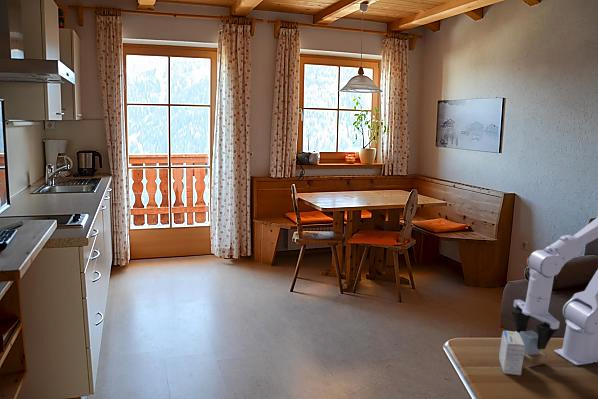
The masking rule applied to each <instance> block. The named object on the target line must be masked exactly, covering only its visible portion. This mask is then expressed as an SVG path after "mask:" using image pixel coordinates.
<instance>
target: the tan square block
mask: <svg viewBox="0 0 598 399" xmlns="http://www.w3.org/2000/svg"><path fill="white" fill-rule="evenodd" d="M546 355H547V354H546V353H544V352H542V351H540V354H535V355H526V354H525V353H524V357H523V364H522V365H524V366H526V367H527V368H530V367H531V368H532V367H536V366H541V365H544V364H545V363H546V362H545V361H546Z"/></svg>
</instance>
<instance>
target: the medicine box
mask: <svg viewBox="0 0 598 399" xmlns="http://www.w3.org/2000/svg"><path fill="white" fill-rule="evenodd" d="M524 351H525V345H524V342H523V340H522V338H521V336H520V333H519V332H515V331H511V330H502V333H501V340H500V347H499V352H498V353H499V354H498V359H499V360H498V361H499V363H500V367H501V369H502V372H503V374H506V375H515V376H522V370H523V365H524V364H523V357H524Z"/></svg>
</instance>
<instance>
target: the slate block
mask: <svg viewBox="0 0 598 399" xmlns="http://www.w3.org/2000/svg"><path fill="white" fill-rule="evenodd" d="M520 336H521V338H522V340H523V342H524V345H525V351H524V353H525V354H526V355H535V354H540V352H541V349H540V350H539V349H538V348H537V342H538V332H536V331H534V330H526V331H521V332H520Z"/></svg>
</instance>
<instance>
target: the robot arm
mask: <svg viewBox="0 0 598 399" xmlns="http://www.w3.org/2000/svg"><path fill="white" fill-rule="evenodd" d="M596 239H598V216H597V217H596V218H595V219H593V220H592V221H591V222H589V223H588V224H587V225H585V226H584V227H582V228H581V230H579V231H577V233H575V234H573V235H569V234H566V235H561V236H560V237H559V239H557V240H556V241H554V242H553V243H552V244H549V245H548V246H546V247H545V248H544V249H537V250H535V251H533V252H532V253H531V254H530V256H529V257H528V258H527V260H526V264H527V267H528V268H529V271H528V273H529V278H528V284H527V285H528V286H527V292H526V298H525V301H524V300H522V299H514V300H513V307H514V309H512V310H511V315H512V316H513V319H514V322H515V327H516V330H515V331H517V332H519V333H520V332H521V331H527V328H528V324H529V321H530V318H531V317H532V318H535V319H536V320H538V321H541V322H542V323H541V324H536V329H537V334H538V342H537V348H538V349H539V350H540V351H541V350H544V349H546V347H547V345H548V343H549V342H550V340H551V338H552V337H553V335H555V334H556V333H557V331H559V328H560V323H561V322H560V321H559V320H558V319H556V318H555V316H553V315H552V314H551V313H550V312H549V306H550V301H551V295H552V290H553V286H554V285H553V284H554V277H555V276H557V275H559V273H560V272H561V270H562V268H563V267H564V266H565V264H566V263H567V262H569V261H570V260H572V259H574V258H576V257H577V256H578V255H580V254H581V253H582V251H583V247H584V246H585V245H587V244H590V242H593V241H594V240H596ZM588 305H589V306H588ZM562 316H563V317H564V318H565V323H566V327H565V333H564V336H563V342H562V347H561V348H558V349H554V350H553V352H554V353H556V354H558V355H560V357H562V358H564V359H565V360H567V361H569V362H570V363H571V364H573V365H575V366H580V365H582V366H583V365H587V364H593V363H594V362H595V363H598V362H597V361H598V269H597V270H596V271H595V273H594V274H593V276H592V278H591V279H590V281H589V282H588V285H587V286H586V287H585V289H584V290H582V291H579V292H576V293H574V294H573V295H572V297H571V298H570V299H569V300H568V301H566V303H565V304H564V305H563V307H562ZM595 363H594V364H595Z"/></svg>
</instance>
